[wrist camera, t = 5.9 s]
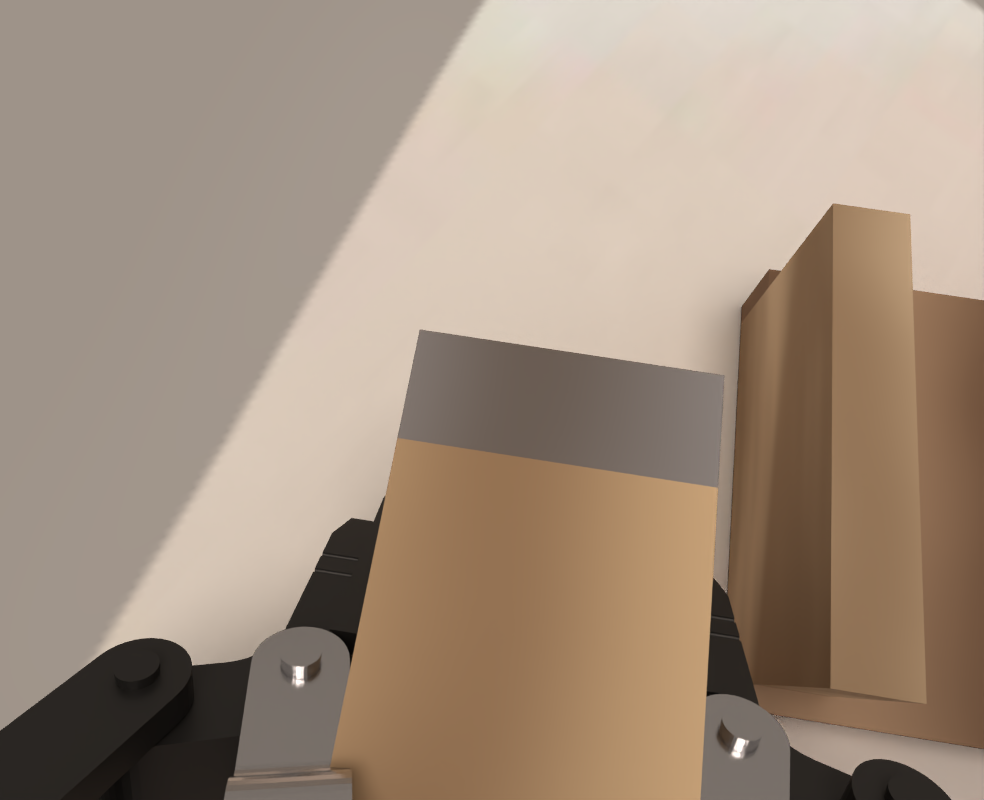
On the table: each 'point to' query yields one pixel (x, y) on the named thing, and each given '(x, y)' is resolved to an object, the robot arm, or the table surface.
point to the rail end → (538, 582)
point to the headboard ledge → (861, 489)
